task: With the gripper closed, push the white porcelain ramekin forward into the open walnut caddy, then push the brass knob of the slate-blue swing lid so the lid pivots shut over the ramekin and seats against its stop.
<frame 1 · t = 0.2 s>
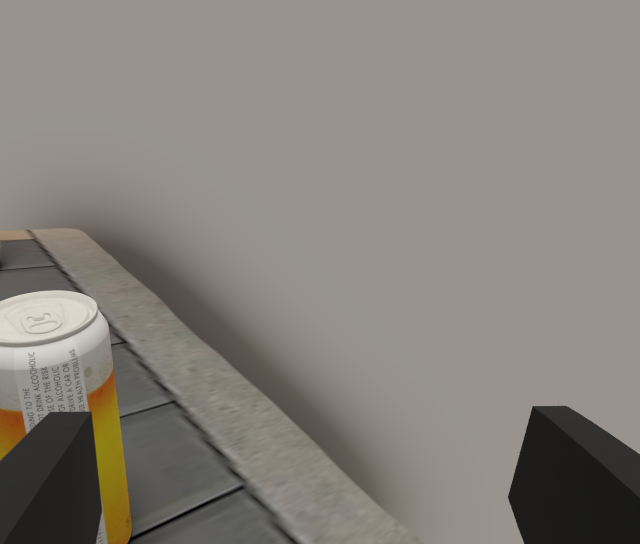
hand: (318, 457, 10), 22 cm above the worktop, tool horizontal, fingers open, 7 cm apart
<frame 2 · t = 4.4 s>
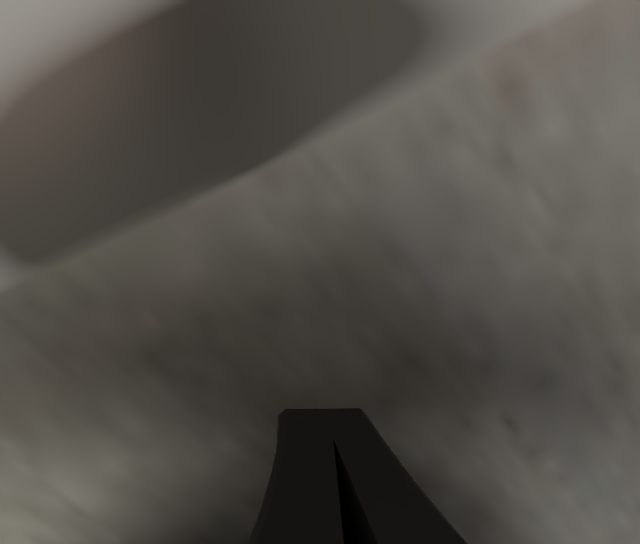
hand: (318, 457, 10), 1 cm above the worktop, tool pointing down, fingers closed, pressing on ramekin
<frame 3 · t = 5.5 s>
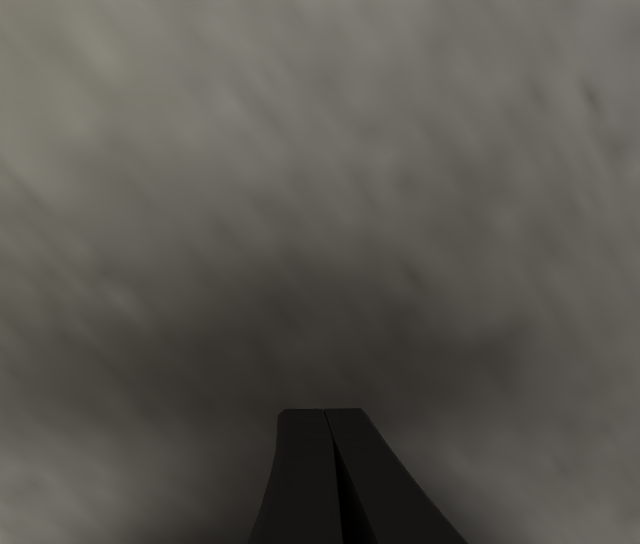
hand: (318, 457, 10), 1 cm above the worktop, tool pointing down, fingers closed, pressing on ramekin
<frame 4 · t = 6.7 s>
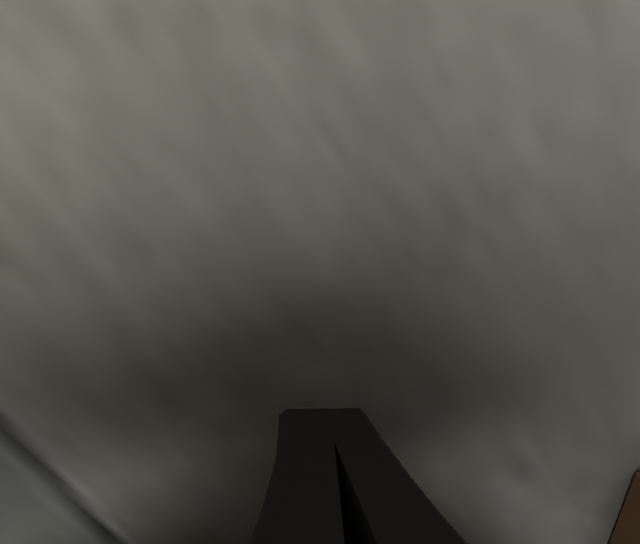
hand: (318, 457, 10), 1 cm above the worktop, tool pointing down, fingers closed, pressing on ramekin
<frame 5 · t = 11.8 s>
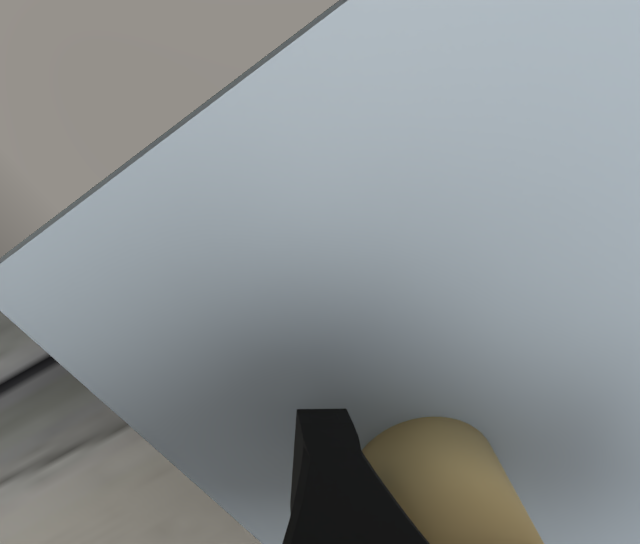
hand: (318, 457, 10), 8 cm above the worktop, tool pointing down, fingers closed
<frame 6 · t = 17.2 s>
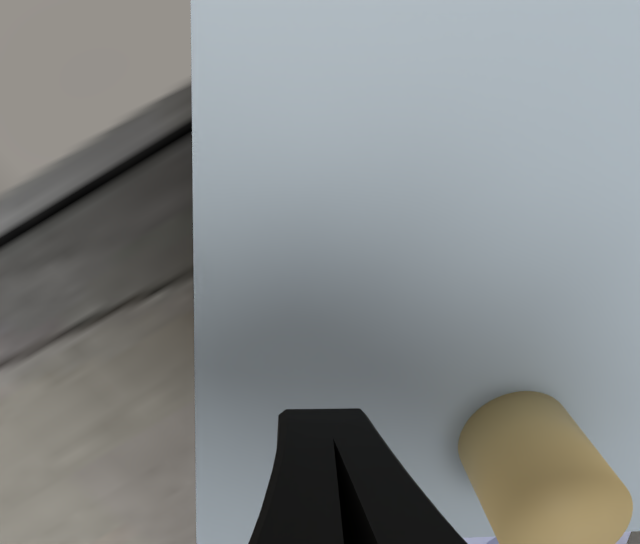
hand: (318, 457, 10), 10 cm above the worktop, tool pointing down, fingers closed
lid: (556, 257, 12), point 8 cm above the worktop, hinge at -0.4°
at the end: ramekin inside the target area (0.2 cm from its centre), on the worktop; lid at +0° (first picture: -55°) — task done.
